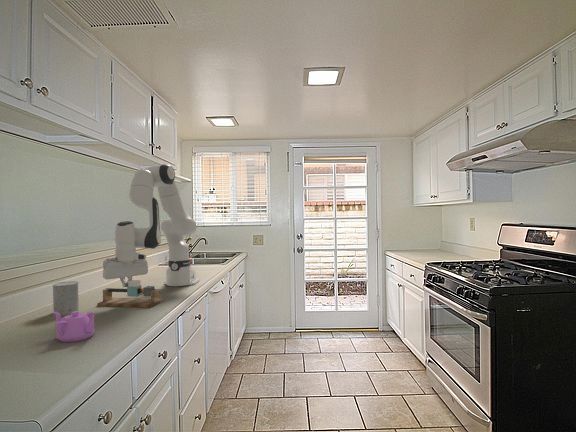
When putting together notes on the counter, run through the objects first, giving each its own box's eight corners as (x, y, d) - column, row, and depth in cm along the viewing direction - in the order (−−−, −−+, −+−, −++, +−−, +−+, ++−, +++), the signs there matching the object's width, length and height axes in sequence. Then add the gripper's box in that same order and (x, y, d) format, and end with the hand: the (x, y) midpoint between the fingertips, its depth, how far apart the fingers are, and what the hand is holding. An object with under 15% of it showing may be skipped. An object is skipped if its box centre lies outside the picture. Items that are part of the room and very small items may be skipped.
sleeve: (127, 296, 181) (127, 281, 181) (132, 294, 185) (132, 279, 185) (136, 296, 180) (136, 281, 180) (141, 294, 185) (141, 280, 184)
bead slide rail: (103, 294, 183) (103, 286, 183) (109, 293, 187) (108, 285, 187) (153, 296, 179) (153, 287, 179) (158, 294, 183) (157, 286, 183)
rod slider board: (97, 305, 180) (97, 291, 180) (113, 299, 191) (113, 286, 191) (150, 307, 175) (150, 292, 175) (163, 301, 187) (163, 287, 187)
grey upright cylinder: (51, 316, 163) (50, 286, 162) (55, 310, 172) (54, 282, 171) (77, 313, 166) (76, 284, 166) (80, 308, 175) (79, 280, 175)
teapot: (96, 340, 132) (96, 313, 131) (48, 346, 126) (47, 318, 126) (98, 330, 142) (97, 305, 142) (53, 335, 137) (53, 310, 137)
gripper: (106, 259, 173) (106, 291, 174) (149, 255, 189) (150, 284, 189) (99, 258, 178) (100, 289, 178) (142, 254, 193) (143, 282, 193)
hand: (126, 286), depth 183 cm, fingers closed
